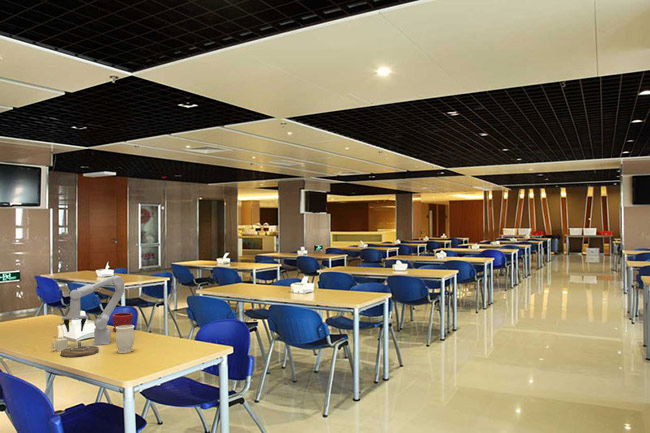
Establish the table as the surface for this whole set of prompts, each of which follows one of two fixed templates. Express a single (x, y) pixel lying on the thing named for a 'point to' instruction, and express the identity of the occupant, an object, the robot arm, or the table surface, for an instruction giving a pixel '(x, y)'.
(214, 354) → the table surface
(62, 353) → the turntable
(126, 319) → the plant pot
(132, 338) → the jar
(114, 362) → the table surface
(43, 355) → the table surface
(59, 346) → the beige block
